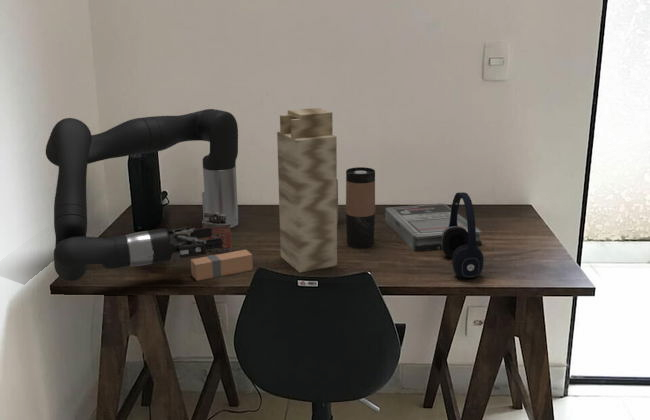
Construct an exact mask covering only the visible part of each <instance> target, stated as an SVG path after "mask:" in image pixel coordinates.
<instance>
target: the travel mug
mask: <svg viewBox="0 0 650 420" xmlns="http://www.w3.org/2000/svg"><path fill="white" fill-rule="evenodd" d="M375 220H376V171H375V169H374V168H371V167H361V166H358V167H357V166H356V167H350V168H347V169H346V171H345V225H346V227H345V228H346V244H347V246H348V247H351V248H355V249H367V248H370V247H373V245H374V242H375V225H376V224H375V223H376V222H375Z"/></svg>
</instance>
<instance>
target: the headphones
mask: <svg viewBox="0 0 650 420" xmlns="http://www.w3.org/2000/svg"><path fill="white" fill-rule="evenodd" d="M461 200H462V201H463V203H464V204H463V205H464V209H465V215H466V220H467V226H468V232H467V231H466V230H465V229H464V228H463V227H460V226H458V225H457V216H458V214H459V208H460V203H461ZM450 208H451V215H450V223H449V227H448V228H446V229H445V230H444V231H443V233H442V237H441V247H442V249H441V251H442V252H443V254H444V255H445V256H446V257H448V258H451V260H452V263H451V264H452V268H453V272H454V274H455V275H456V276H457V277H458V278H460V279H464V280H469V279H475V278H477V277H479V275H481V273H482V270H483V269H484V268H483V267H484V254H483V252H482V251H481V249H480V248H479V246H476V228H475V227H476V219H475V211H474V206H473V202H472V198H471V197H470V195H469V194H468V193H467V192H461V191H460V192H456V193H455V194H454V197H453V200H452V203H451V207H450Z"/></svg>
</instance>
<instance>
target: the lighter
mask: <svg viewBox="0 0 650 420" xmlns="http://www.w3.org/2000/svg"><path fill="white" fill-rule="evenodd" d="M204 217H205V218H209V220H204V219H203V220H201V225H202V228H208V227H210V228H211V229H212V236H211V237H206V238H202V240H208V239H214V238H221V239H222V241H223V246H222V247H221V248H215V249H209V250H211V251H210V252H216V251H217V253H230V252H233V246H232V234H231V228H230V226H231V222H228V221H226V215H225V214H220V212H217V213H211V212H205V213H204ZM212 218H213V220H212ZM209 250H208V251H209Z"/></svg>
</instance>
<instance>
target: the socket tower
mask: <svg viewBox="0 0 650 420" xmlns="http://www.w3.org/2000/svg"><path fill="white" fill-rule="evenodd" d="M279 127H280V129H279V130H280V131H277V132H276V135H277V136H276V138H277V141H276V143H277V144H276V145H277V171H278V172H277V174H278V176H277V178H278V206H279V208H278V209H279V237H280V238H279V239H280V240H279V242H280V243H279V244H280V257H281V258H282V259H283V260H284V261H286V263H288V264H289V265H290V266H291V267H293V268H294V269H295V270H296V271H297V272H298V273H304V272H305V273H306V272H311V271H315V270H316V271H317V270H321V269H326V268H330V267H337V266H338V224H337V180H338V178H337V177H338V175H337V170H338V169H337V168H338V167H337V161H338V160H337V155H338V154H337V136H336V135H334V134H333V112H332V111H328V110H326V109H322V108H320V107H315V108H304V109H303V108H301V109H293V110H292V109H291V110H287V114H281V115H279Z"/></svg>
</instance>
